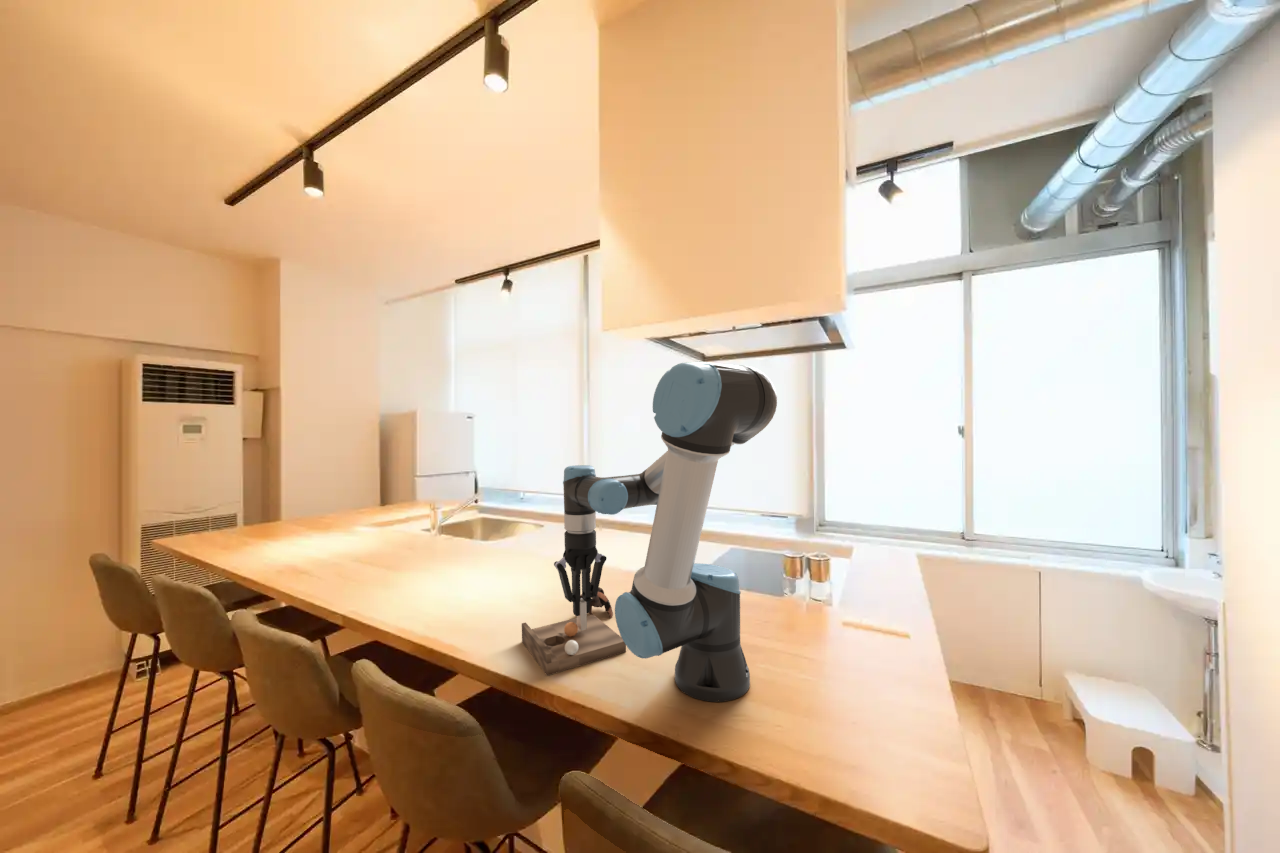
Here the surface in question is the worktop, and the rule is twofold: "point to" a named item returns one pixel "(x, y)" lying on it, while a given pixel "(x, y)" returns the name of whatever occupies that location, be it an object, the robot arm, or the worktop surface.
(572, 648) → the cream ball
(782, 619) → the worktop surface
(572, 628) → the ball
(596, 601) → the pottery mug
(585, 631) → the deck
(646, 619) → the robot arm
